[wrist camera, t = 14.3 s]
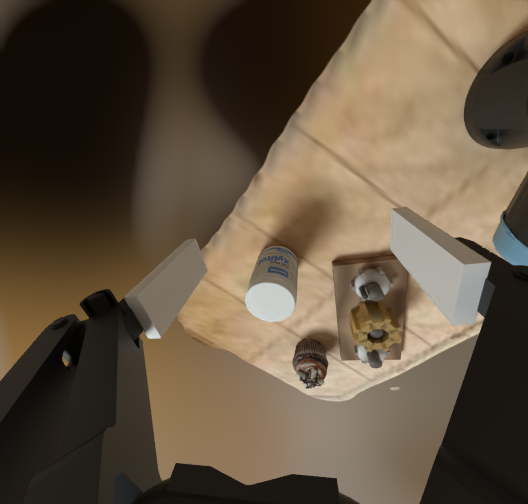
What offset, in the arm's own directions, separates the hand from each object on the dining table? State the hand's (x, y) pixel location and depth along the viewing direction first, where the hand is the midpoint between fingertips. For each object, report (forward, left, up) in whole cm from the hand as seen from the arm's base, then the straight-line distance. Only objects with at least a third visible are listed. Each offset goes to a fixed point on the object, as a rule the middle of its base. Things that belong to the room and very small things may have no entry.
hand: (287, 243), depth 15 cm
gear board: (-13, +36, -32) cm, 50 cm away
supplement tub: (+7, +19, -32) cm, 38 cm away
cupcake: (+3, +49, -32) cm, 59 cm away
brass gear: (-13, +36, -30) cm, 48 cm away
